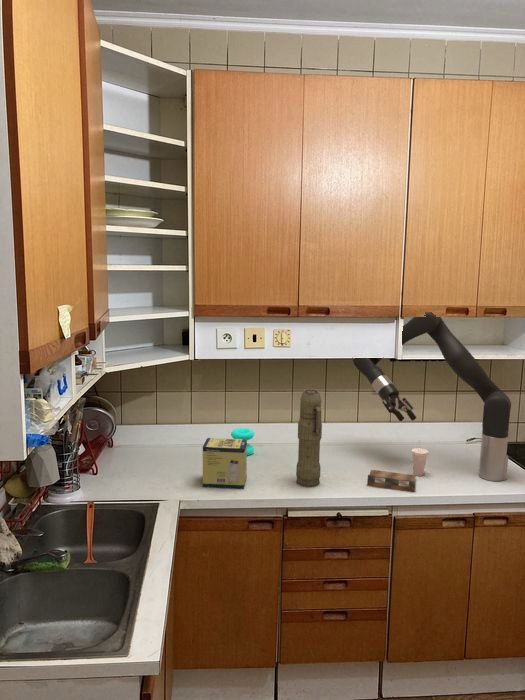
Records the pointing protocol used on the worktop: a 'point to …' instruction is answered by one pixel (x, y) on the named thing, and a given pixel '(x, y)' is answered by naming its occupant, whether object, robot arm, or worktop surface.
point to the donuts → (244, 437)
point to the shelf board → (391, 480)
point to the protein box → (225, 463)
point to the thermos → (309, 439)
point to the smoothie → (419, 460)
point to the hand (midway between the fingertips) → (408, 419)
